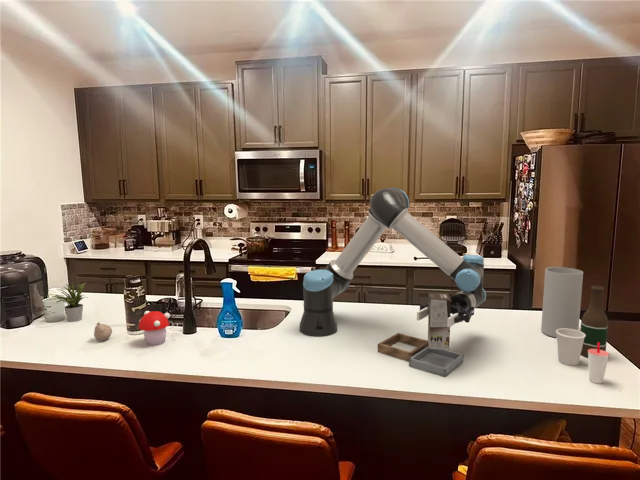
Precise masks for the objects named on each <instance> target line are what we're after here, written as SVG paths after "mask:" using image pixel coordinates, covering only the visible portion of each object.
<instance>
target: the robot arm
mask: <svg viewBox="0 0 640 480" xmlns="http://www.w3.org/2000/svg"><path fill="white" fill-rule="evenodd" d="M409 207H410V200H409V197H408V195H407V193H406V192H405V191H404V190H402V189H400V188H397V187H390V188H389V187H388V188H387V187H386V188H381V189H378V190H377V191H375V192H374V193H373V194H372V196H371V197H370V200H369V208H368V209H367V212H368V216H367V218H366V219H365V220H364V222H363V223H362V224H361V225H360V226H359V228H358V229H357V231H356V233H355V234H354V235H353V236H352V238H350V241H349V242H348V244H347V245H346V246H345V247H344V248H343V250H342V251H341V253H340V254H339V256H337V258H336V259H331V260H330V261H329V263H328V264H327V265H326V267H325V268H324V269H314V270H310V271H307V272H306V273H305V274H304V276H303V282H302V287H303V313H302V317H301V318H300V319H301V320H300V323H299V333H301V334H304V335H306V336H309V337H310V336H311V337H312V336H313V337H324V336H330V335H333V334H335V333H337V331H338V322H337V321H336V316H335V313H334V306H333V305H334V298H336V297H337V296H338V295H341V294H343V293H344V292H346V290H347V288H349V286H350V282H351V281H352V280H353V278H354V271H355V270H356V268H357V267H358V266H359V265H360V263H361V262H362V261H363V260H364V258H365V257H366V255H367V254H368V253H369V252H370V250H371V249H372V247H374V245H375V244H376V243H377V241H378V240H379V238H381V236H382V235H383V234H384V232H385V231H386V230H387V229H389V230H394V231H396V232H397V234H399V235H400V236H402V238H404V239H405V240H406V241H408V242H409V243H410V244H411V245H412V246H413V247H414V248H416V249H417V250H418V251H419V252H420V253H421V254H423V255H424V256H425V257H426V258H427V259H429V260H430V261H431V262H432V263H433V264H434V265H435V266H437V267H438V268H439V269H440V270H441V271H443V272H444V273H445V274H446V275H447V276H448V277H450V278H451V280H452V281H454V282H455V284H456V287H457V288H458V289H459V290H460V291H459V292H455V294H453V295H451V296H449V297H450V299H451V317H449V318H447V327H450V328H451V327H452V326H454V325H455V324H459V323H462V322H464V323H469V322H470V321H471V318H472V316H474V315H475V309H476V308H478V307H479V306H481V305H482V304H484V302H485V301H486V298H487V292H486V290H485V289H484V271H485V269H484V268H485V263H484V262H485V260H484V257H483V256H482V255H477V254H466V255H465V254H464V256H462V257H461V256H460V255H459V254H458V253H457V252H456V251H454V249H452V248H451V247H449V246H448V244H446V243H445V242H444V241H442V240H441V239H440V238H439V237H437V236H436V235H435V234H434V233H433V232H432V231H430V230H429V229H428V228H427V227H425V226H424V225H423V224H422V223H421V222H420V221H418V220H417V219H416V218H415V217H414V216H412V215H411V214H410V213H409V210H408V209H409ZM428 308H429V302H427V303H423V304H420V305H419V311H416V321H421V320H423V319H425V318H426V317H427V318H428Z"/></svg>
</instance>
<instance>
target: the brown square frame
mask: <svg viewBox="0 0 640 480" xmlns="http://www.w3.org/2000/svg"><path fill="white" fill-rule="evenodd" d="M398 343H401V344H405V345H409V346H413V347H415V348H414V349H412V350H411V351H409V350H405V349H401V348H398V347H394V346H395V345H397V344H398ZM428 346H429V343H428V339H423V338H420V337H416V336H412V335H408V334H404V333H400V332H396V334H395V333H394V335H392V336H390V337H388V338H386V339H384V340H382V341H380V342H379V343H377V353H379V354H383V355H385V356H389V357H393V358H396V359H399V360H403V361H406V362H409V358H411V357H413V356H414V355H416V354H417V353H419V352H420V351H422V350H423V349H425V348H426V347H428Z"/></svg>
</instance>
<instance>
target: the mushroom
mask: <svg viewBox="0 0 640 480" xmlns="http://www.w3.org/2000/svg"><path fill="white" fill-rule="evenodd" d="M170 314H171V313H169V312H165V313H163V312H161V311H157V310H156V311H155V310H154V311H153V310H152V311H149V310H146V311H144V313H143V316H142V317H141V318H140V319H139V320H138V330H140V331H144V333H143V336H144V339H145V340H144V341H145V345H147V346H150V347H154V346H160V345H162V344H163V345H164V343H166V336H167V330H166V328H167V327H169V326H170V322H169V318H170V317H171V315H170Z"/></svg>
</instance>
